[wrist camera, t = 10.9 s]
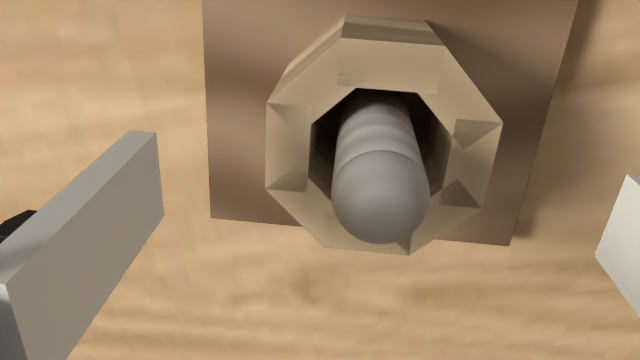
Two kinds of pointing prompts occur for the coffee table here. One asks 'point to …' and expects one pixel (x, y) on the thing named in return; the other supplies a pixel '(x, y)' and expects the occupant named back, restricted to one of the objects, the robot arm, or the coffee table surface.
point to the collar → (385, 74)
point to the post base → (463, 28)
